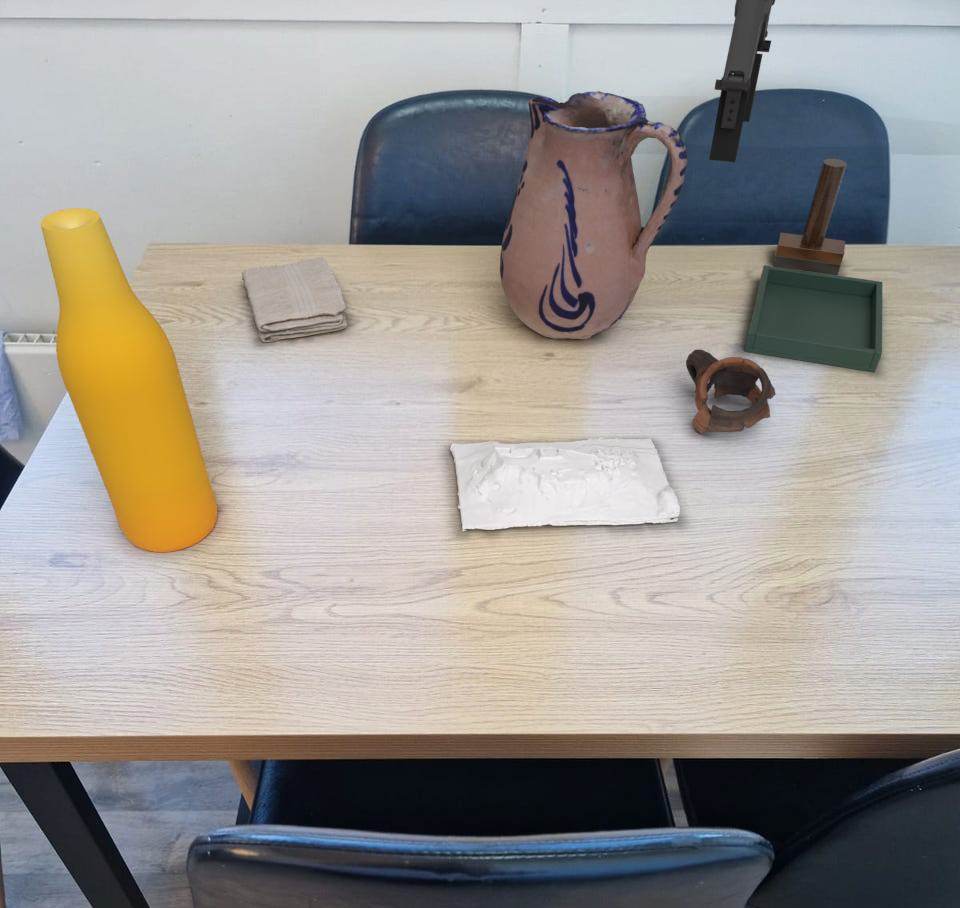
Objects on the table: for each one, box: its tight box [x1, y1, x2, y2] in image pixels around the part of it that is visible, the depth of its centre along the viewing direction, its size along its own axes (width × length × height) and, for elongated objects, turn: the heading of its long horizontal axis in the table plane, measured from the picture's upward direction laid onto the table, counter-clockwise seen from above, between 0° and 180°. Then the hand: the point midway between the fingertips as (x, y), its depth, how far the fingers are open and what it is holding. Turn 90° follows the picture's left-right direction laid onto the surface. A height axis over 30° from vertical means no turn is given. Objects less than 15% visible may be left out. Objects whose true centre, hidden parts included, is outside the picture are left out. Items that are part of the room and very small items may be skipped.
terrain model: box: [449, 436, 681, 533], centre depth 88 cm, size 17×23×5 cm
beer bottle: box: [40, 207, 218, 553], centre depth 74 cm, size 9×9×29 cm
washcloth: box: [241, 257, 348, 343], centre depth 113 cm, size 12×18×3 cm, turn 19°
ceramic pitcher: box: [499, 90, 688, 340], centre depth 102 cm, size 18×21×25 cm
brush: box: [772, 158, 847, 276], centre depth 119 cm, size 9×4×14 cm, turn 72°
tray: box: [744, 265, 883, 373], centre depth 111 cm, size 16×20×2 cm
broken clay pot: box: [685, 349, 776, 434], centre depth 96 cm, size 12×10×8 cm
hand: (730, 139), depth 96 cm, fingers open, 13 cm apart
